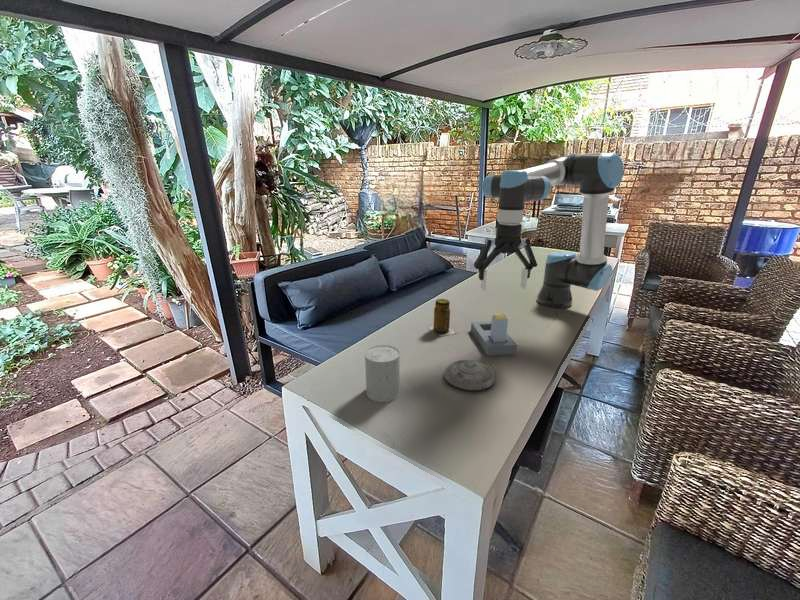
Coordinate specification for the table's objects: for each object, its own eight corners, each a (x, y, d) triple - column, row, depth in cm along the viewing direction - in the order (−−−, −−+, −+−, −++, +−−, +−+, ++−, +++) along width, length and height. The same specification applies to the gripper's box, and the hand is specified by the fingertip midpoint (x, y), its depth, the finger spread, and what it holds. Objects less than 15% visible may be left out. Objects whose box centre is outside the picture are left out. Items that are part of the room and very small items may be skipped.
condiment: (444, 325, 147) (445, 296, 143) (456, 333, 140) (457, 303, 135) (428, 328, 144) (429, 299, 140) (439, 337, 137) (441, 307, 132)
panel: (495, 329, 143) (496, 321, 141) (516, 354, 124) (517, 345, 123) (470, 330, 142) (471, 322, 141) (487, 355, 123) (488, 346, 122)
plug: (500, 343, 130) (503, 312, 126) (504, 349, 126) (508, 316, 122) (489, 344, 130) (492, 312, 125) (493, 349, 126) (496, 317, 122)
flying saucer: (461, 399, 101) (462, 382, 99) (434, 372, 114) (435, 357, 112) (505, 386, 107) (507, 370, 105) (475, 362, 119) (476, 347, 117)
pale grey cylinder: (366, 383, 108) (364, 345, 104) (398, 381, 109) (398, 344, 104) (366, 402, 99) (364, 362, 95) (401, 401, 100) (401, 361, 96)
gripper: (542, 220, 118) (534, 283, 125) (466, 222, 115) (463, 286, 123) (554, 224, 111) (544, 290, 118) (473, 226, 108) (469, 293, 116)
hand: (503, 288), depth 121 cm, fingers open, 13 cm apart
